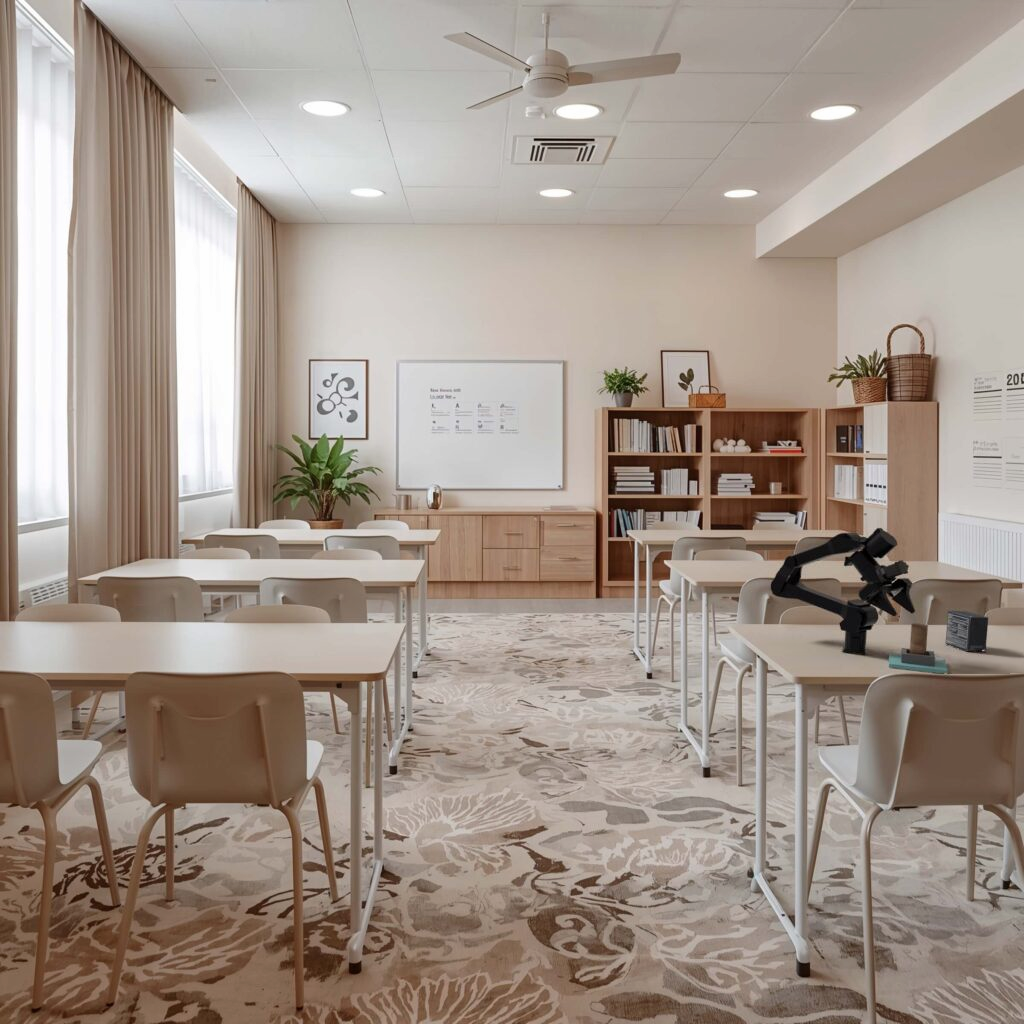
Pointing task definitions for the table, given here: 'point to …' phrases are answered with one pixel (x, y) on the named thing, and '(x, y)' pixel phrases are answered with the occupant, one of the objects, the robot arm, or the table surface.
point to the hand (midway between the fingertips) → (904, 614)
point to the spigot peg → (918, 639)
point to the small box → (966, 630)
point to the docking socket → (917, 662)
